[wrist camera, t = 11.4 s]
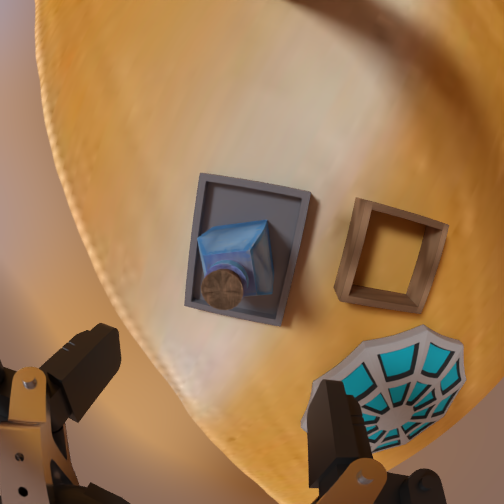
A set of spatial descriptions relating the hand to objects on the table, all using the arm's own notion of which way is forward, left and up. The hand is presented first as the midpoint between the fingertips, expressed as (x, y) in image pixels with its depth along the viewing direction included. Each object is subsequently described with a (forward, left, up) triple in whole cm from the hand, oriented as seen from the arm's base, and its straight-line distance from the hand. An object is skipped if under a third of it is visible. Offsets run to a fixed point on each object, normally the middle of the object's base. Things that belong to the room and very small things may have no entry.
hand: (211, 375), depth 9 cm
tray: (+2, -2, -23) cm, 23 cm away
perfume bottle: (+1, -2, -23) cm, 23 cm away
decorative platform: (+23, +26, -24) cm, 42 cm away
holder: (-2, +15, -23) cm, 28 cm away
